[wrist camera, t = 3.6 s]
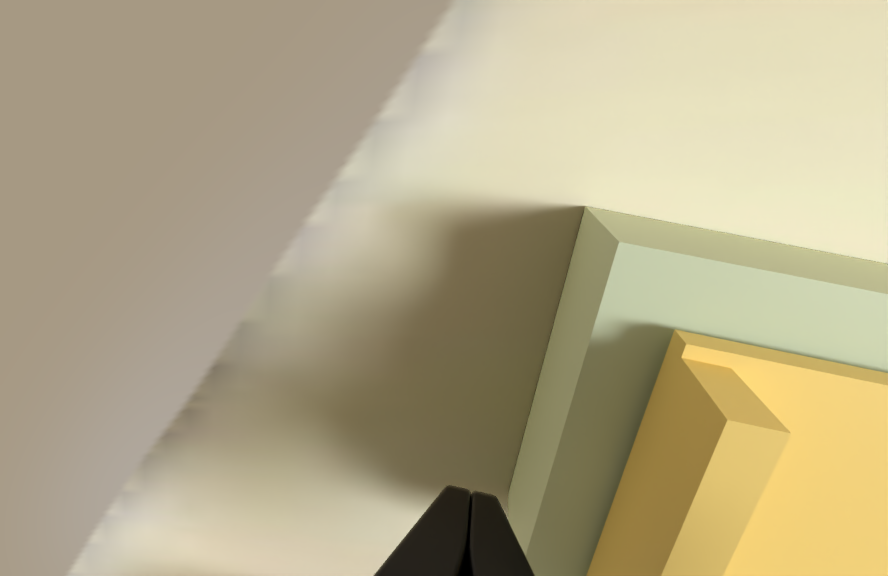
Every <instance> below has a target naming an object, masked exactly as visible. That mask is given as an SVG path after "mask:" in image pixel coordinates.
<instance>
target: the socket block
mask: <svg viewBox="0 0 888 576" xmlns="http://www.w3.org/2000/svg"><path fill="white" fill-rule="evenodd" d="M674 330H680V331H685V332H690V333H694V334H699V335H704V336H709V337H714V338H719V339H724V340H729V341H734V342H738V343H743V344H748V345H753V346H758V347H763V348H768V349H773V350H777V351H782V352H787V353H792V354H797V355H802V356H807V357H812V358H817V359H821V360H826V361H831V362H836V363H841V364H846V365H851V366H856V367H860V368H865V369H870V370H875V371H880V372H885V373H888V264H885V263H880V262H875V261H870V260H864V259H859V258H854V257H849V256H843V255H838V254H833V253H828V252H822V251H817V250H812V249H807V248H802V247H796V246H791V245H786V244H781V243H775V242H770V241H765V240H760V239H754V238H749V237H744V236H739V235H733V234H728V233H723V232H718V231H713V230H707V229H702V228H697V227H692V226H686V225H681V224H676V223H671V222H665V221H660V220H655V219H650V218H645V217H639V216H634V215H629V214H624V213H618V212H613V211H608V210H603V209H597V208H592V207H587V206H585V209H584V213H583V217H582V220H581V224H580V228H579V232H578V235H577V239H576V243H575V246H574V250H573V254H572V258H571V261H570V265H569V269H568V273H567V276H566V280H565V284H564V287H563V291H562V295H561V299H560V302H559V306H558V310H557V314H556V317H555V321H554V325H553V329H552V332H551V336H550V340H549V343H548V347H547V351H546V355H545V358H544V362H543V366H542V370H541V373H540V377H539V381H538V385H537V388H536V392H535V396H534V399H533V403H532V407H531V411H530V414H529V418H528V422H527V426H526V429H525V433H524V437H523V441H522V444H521V448H520V452H519V455H518V459H517V463H516V467H515V470H514V474H513V478H512V482H511V485H510V489H509V493H508V521H509V523H510V525H511V527H512V529H513V532H514V534H515V536H516V538H517V540H518V542H519V544H520V546H521V548H522V550H523V552H524V554H525V556H526V558H527V560H528V562H529V565H530V567H531V569H532V571H533V573H534V575H535V576H586V575H587V573H588V570H589V567H590V564H591V561H592V559H593V556H594V553H595V550H596V547H597V545H598V542H599V539H600V536H601V534H602V531H603V528H604V525H605V522H606V520H607V517H608V514H609V511H610V508H611V506H612V503H613V500H614V497H615V494H616V492H617V489H618V486H619V483H620V480H621V478H622V475H623V472H624V469H625V466H626V464H627V461H628V458H629V455H630V453H631V450H632V447H633V444H634V441H635V439H636V436H637V433H638V430H639V427H640V425H641V422H642V419H643V416H644V413H645V411H646V408H647V405H648V402H649V399H650V397H651V394H652V391H653V388H654V386H655V383H656V380H657V377H658V374H659V372H660V369H661V366H662V363H663V360H664V358H665V355H666V352H667V349H668V346H669V344H670V341H671V338H672V335H673V332H674Z"/></svg>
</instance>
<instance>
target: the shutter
mask: <svg viewBox="0 0 888 576" xmlns="http://www.w3.org/2000/svg"><path fill="white" fill-rule="evenodd" d="M586 576H888V373H885V372H880V371H875V370H870V369H865V368H860V367H856V366H851V365H846V364H841V363H836V362H831V361H826V360H821V359H817V358H812V357H807V356H802V355H797V354H792V353H787V352H782V351H777V350H773V349H768V348H763V347H758V346H753V345H748V344H743V343H738V342H734V341H729V340H724V339H719V338H714V337H709V336H704V335H699V334H694V333H690V332H685V331H680V330H674V332H673V335H672V338H671V341H670V344H669V346H668V349H667V352H666V355H665V358H664V360H663V363H662V366H661V369H660V372H659V374H658V377H657V380H656V383H655V386H654V388H653V391H652V394H651V397H650V399H649V402H648V405H647V408H646V411H645V413H644V416H643V419H642V422H641V425H640V427H639V430H638V433H637V436H636V439H635V441H634V444H633V447H632V450H631V453H630V455H629V458H628V461H627V464H626V466H625V469H624V472H623V475H622V478H621V480H620V483H619V486H618V489H617V492H616V494H615V497H614V500H613V503H612V506H611V508H610V511H609V514H608V517H607V520H606V522H605V525H604V528H603V531H602V534H601V536H600V539H599V542H598V545H597V547H596V550H595V553H594V556H593V559H592V561H591V564H590V567H589V570H588V573H587V575H586Z"/></svg>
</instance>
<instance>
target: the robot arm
mask: <svg viewBox="0 0 888 576" xmlns="http://www.w3.org/2000/svg"><path fill="white" fill-rule="evenodd" d="M374 576H535V575H534V573H533V571H532V569H531V567H530V565H529V562H528V560H527V558H526V556H525V554H524V552H523V550H522V548H521V546H520V544H519V542H518V540H517V538H516V536H515V534H514V532H513V529H512V527H511V525H510V523H509V521H508V519H507V517H506V515H505V513H504V511H503V509H502V507H501V505H500V503H499V501H498V499H497V497H496V496H494V495H491V494H487V493H482V492H478V491H474V492H472V493H470V491H469V490H468V489H465V488H460V487H456V486H452V485H448V486H446V487H445V488H444V489H443V490H442V492H441V493H440V494H439V495H438V497H437V498H436V499H435V500H434V502H433V503H432V504H431V505H430V507H429V508H428V509H427V510H426V512H425V513H424V514H423V515H422V516H421V518H420V519H419V520H418V521H417V523H416V524H415V525H414V526H413V528H412V529H411V530H410V531H409V533H408V534H407V535H406V536H405V538H404V539H403V540H402V541H401V542H400V544H399V545H398V546H397V547H396V549H395V550H394V551H393V552H392V554H391V555H390V556H389V557H388V559H387V560H386V561H385V562H384V564H383V565H382V566H381V567H380V569H379V570H378V571H377V572H376V573H375V575H374Z"/></svg>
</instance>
